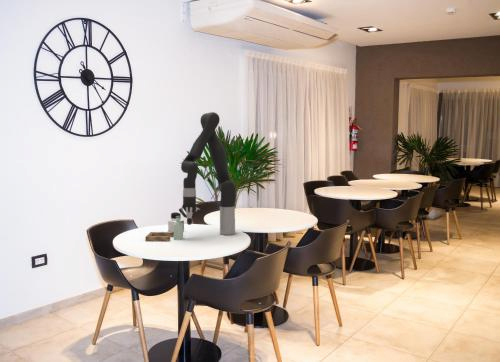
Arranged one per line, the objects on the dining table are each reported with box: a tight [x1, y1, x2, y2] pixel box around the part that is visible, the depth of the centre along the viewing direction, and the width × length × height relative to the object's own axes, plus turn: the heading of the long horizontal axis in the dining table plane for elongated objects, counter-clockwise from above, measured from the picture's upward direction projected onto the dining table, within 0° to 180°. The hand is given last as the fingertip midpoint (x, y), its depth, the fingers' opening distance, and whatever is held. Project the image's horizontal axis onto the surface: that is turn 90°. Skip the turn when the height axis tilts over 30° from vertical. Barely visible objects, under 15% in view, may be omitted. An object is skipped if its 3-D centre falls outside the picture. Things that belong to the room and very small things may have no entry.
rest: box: [145, 231, 174, 242], centre depth 279 cm, size 14×13×2 cm
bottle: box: [173, 216, 184, 241], centre depth 278 cm, size 5×5×14 cm
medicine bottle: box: [167, 211, 185, 232], centre depth 298 cm, size 7×7×12 cm
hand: (189, 224), depth 278 cm, fingers closed
